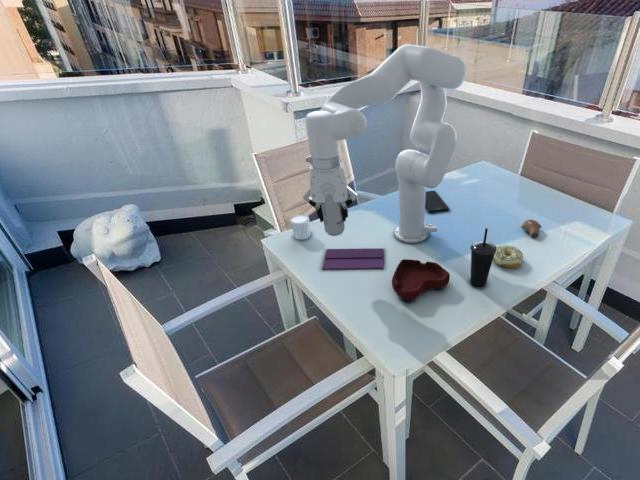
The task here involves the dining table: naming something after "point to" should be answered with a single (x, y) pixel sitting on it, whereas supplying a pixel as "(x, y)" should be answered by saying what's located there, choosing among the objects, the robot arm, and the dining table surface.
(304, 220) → the shot glass
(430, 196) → the cell phone
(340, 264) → the napkin
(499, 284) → the dining table surface
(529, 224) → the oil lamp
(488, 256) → the drinking cup
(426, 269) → the ashtray
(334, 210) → the energy drink can
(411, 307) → the dining table surface
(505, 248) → the decorated donut
